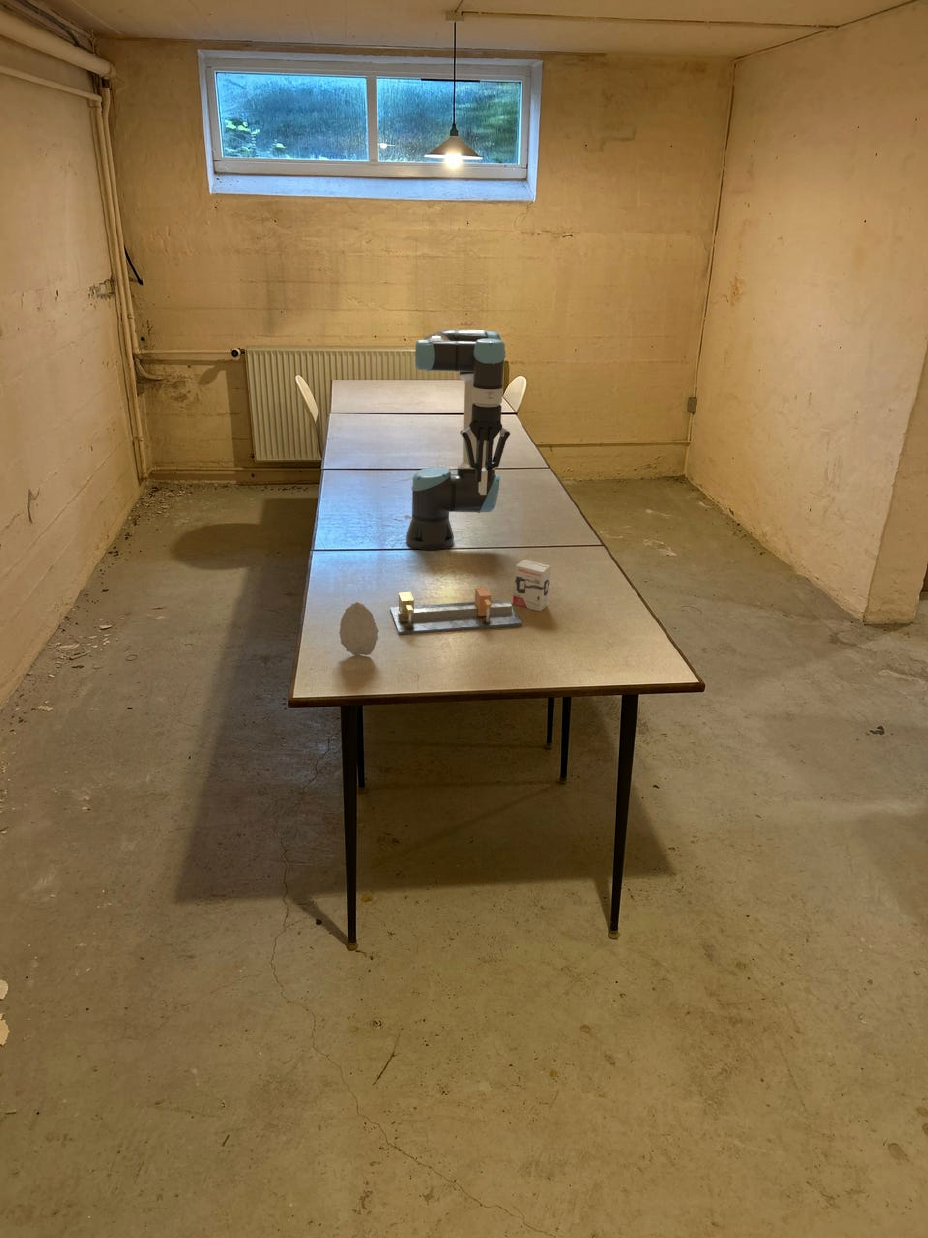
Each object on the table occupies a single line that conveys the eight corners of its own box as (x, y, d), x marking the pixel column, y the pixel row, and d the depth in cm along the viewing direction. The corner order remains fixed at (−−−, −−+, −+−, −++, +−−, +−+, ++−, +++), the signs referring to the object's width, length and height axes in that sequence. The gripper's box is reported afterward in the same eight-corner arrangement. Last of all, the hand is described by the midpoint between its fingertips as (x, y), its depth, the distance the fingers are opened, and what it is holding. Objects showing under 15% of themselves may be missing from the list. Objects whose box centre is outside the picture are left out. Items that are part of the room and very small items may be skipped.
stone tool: (379, 653, 203) (378, 596, 196) (378, 660, 200) (378, 602, 194) (340, 653, 203) (338, 596, 196) (339, 659, 200) (337, 602, 193)
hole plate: (390, 610, 224) (390, 607, 223) (506, 603, 231) (507, 599, 230) (399, 635, 212) (399, 631, 211) (521, 626, 219) (521, 622, 218)
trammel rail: (396, 614, 220) (396, 592, 217) (508, 607, 226) (509, 585, 224) (402, 630, 212) (402, 607, 209) (517, 621, 219) (519, 599, 216)
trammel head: (474, 608, 224) (475, 587, 221) (485, 607, 225) (486, 587, 222) (482, 623, 217) (483, 602, 214) (493, 622, 217) (495, 601, 215)
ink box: (512, 604, 230) (514, 564, 225) (520, 597, 234) (523, 558, 229) (540, 612, 227) (544, 571, 221) (548, 605, 231) (551, 565, 225)
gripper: (465, 407, 209) (461, 498, 220) (515, 406, 212) (509, 496, 223) (458, 400, 216) (455, 489, 226) (507, 400, 219) (502, 488, 229)
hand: (482, 493), depth 225 cm, fingers closed
